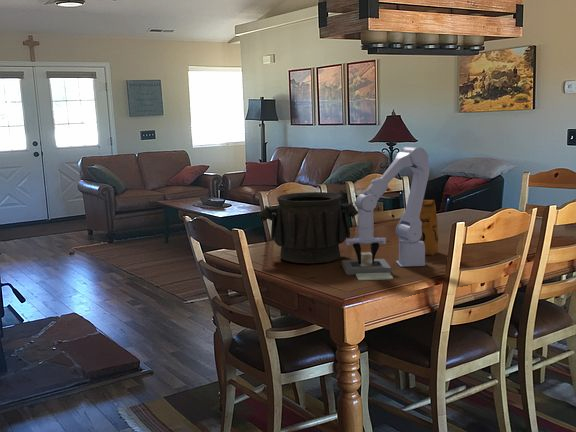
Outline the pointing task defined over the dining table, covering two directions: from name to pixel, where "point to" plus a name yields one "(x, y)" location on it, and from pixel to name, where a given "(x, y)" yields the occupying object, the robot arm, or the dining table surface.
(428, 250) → the coffee package
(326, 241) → the vessel
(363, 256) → the cream block
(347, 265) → the holder plate
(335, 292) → the dining table surface
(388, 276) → the green tile
